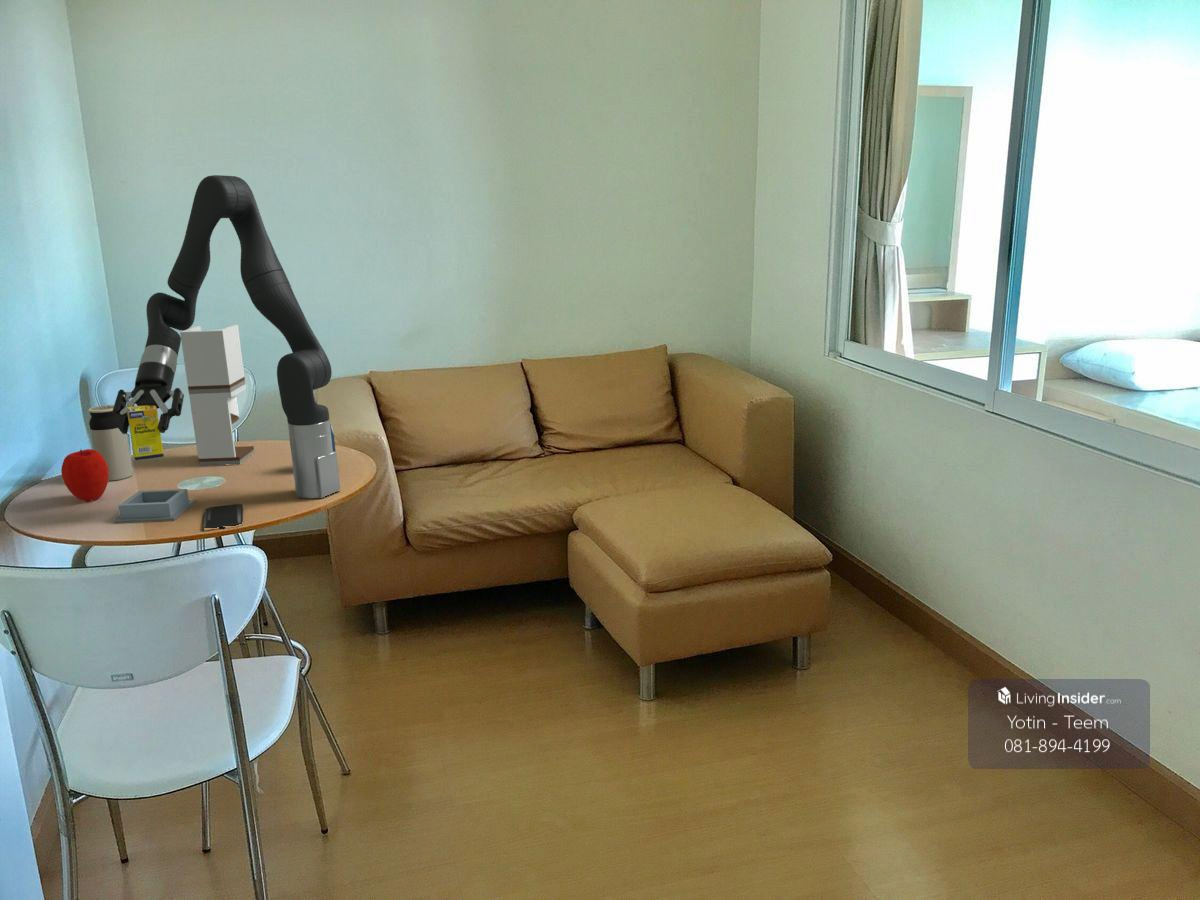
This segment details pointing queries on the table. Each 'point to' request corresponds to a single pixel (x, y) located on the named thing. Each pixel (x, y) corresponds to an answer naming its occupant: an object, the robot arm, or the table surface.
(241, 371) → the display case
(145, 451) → the supplement box
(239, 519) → the phone
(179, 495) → the holder
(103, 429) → the travel mug
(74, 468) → the apple
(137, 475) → the table surface
